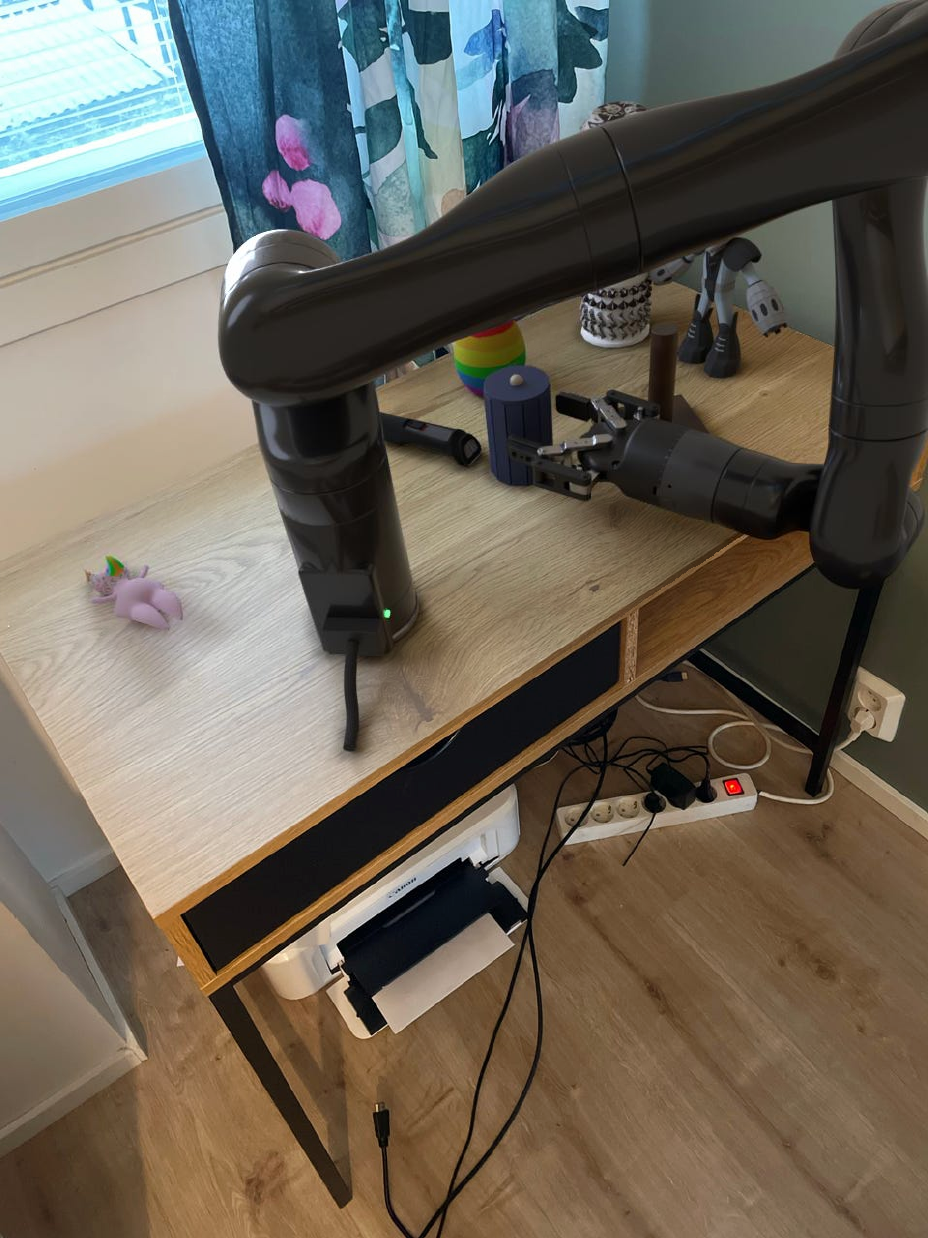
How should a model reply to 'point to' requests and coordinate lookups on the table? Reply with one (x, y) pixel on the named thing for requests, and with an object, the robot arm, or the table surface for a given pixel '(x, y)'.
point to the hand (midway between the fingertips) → (533, 422)
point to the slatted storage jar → (516, 418)
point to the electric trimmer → (431, 438)
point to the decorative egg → (488, 354)
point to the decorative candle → (624, 305)
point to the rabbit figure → (135, 595)
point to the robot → (723, 304)
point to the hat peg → (668, 379)
